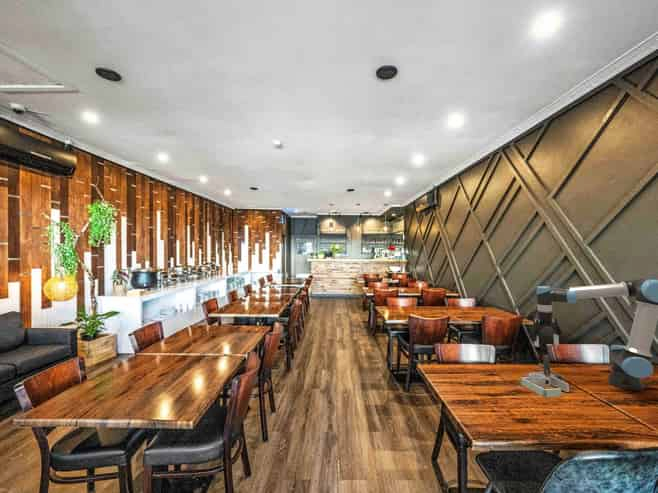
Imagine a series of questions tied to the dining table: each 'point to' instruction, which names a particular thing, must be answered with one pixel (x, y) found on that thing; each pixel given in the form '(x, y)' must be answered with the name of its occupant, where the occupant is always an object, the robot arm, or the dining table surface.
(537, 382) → the cup
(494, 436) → the dining table surface
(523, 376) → the rail
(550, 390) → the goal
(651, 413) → the dining table surface
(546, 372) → the kicker
